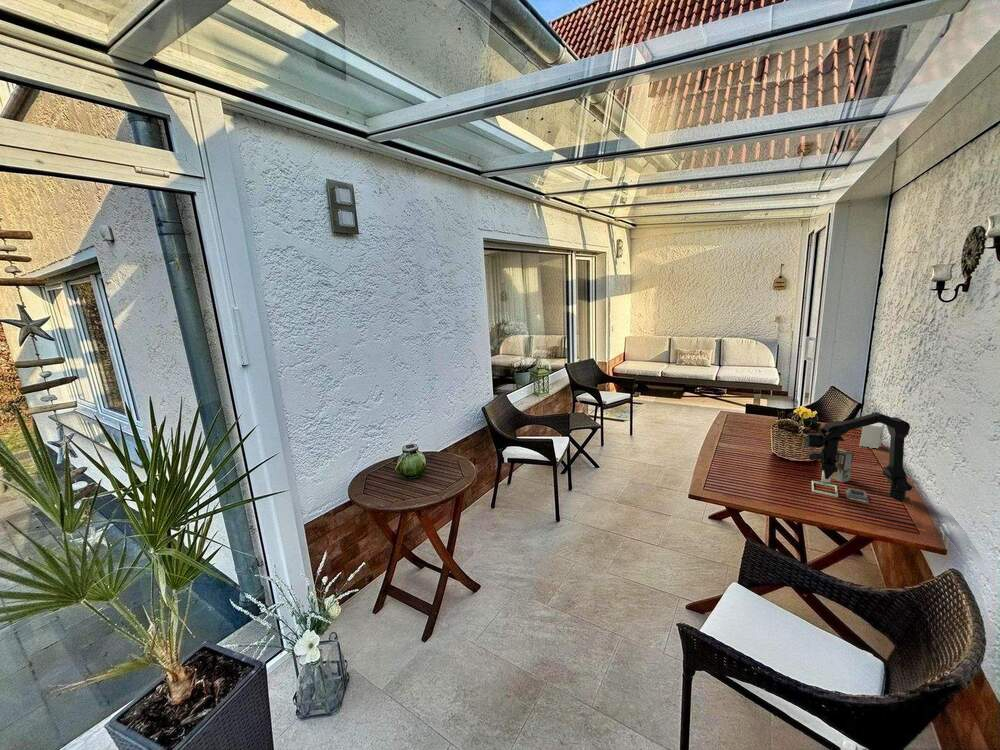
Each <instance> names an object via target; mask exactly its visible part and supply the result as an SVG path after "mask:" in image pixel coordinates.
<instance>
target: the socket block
mask: <svg viewBox="0 0 1000 750" xmlns="http://www.w3.org/2000/svg"><path fill="white" fill-rule="evenodd" d="M844 490H845V495H846V499H847V500H853V501H859V502H863V503H867V504H869V503H870V502H869V501H870V500H869V497H868V494H867V492H866V491H865V490H864V491H863V490H859V489H855V488H854V489H853V488H848V487H847V489H844Z"/></svg>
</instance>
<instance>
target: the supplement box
mask: <svg viewBox="0 0 1000 750" xmlns="http://www.w3.org/2000/svg"><path fill="white" fill-rule="evenodd" d="M884 430H885V424H882V423H875V424H872V425H868V426H864V427H862V430H861V434H860V435H861V436H860V441H859V447H862V446H863V448H867V447H869V448H868V449H872V448H879V447H880V448H881V445H882V441H883V440H882V439H883V434H884ZM880 448H879V449H880Z"/></svg>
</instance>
